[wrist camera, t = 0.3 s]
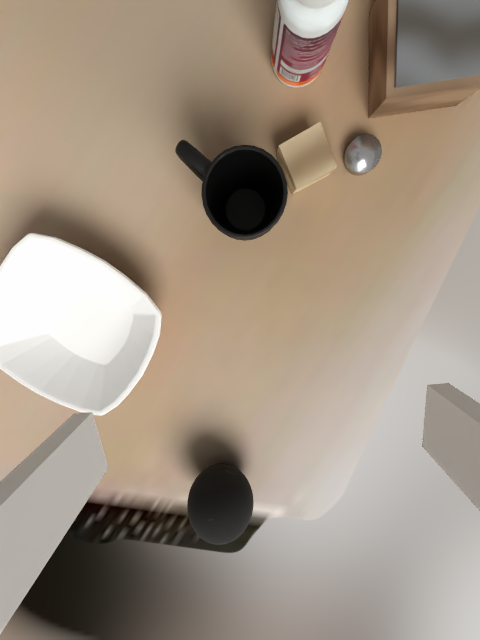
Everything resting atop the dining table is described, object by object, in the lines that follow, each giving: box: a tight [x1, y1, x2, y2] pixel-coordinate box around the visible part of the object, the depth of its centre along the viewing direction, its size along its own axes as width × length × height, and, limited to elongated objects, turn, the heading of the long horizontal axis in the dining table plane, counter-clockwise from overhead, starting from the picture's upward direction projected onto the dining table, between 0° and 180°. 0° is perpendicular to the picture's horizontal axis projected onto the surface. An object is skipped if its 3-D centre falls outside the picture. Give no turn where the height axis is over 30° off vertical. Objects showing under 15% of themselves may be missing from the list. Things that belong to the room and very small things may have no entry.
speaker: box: [188, 464, 253, 545], centre depth 39 cm, size 10×10×10 cm
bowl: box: [0, 233, 162, 415], centre depth 35 cm, size 22×22×5 cm
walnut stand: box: [369, 0, 480, 118], centre depth 27 cm, size 10×10×4 cm
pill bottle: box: [271, 0, 349, 88], centre depth 24 cm, size 6×6×11 cm
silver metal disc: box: [343, 134, 382, 175], centre depth 31 cm, size 4×4×1 cm
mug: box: [175, 140, 288, 240], centre depth 29 cm, size 8×12×10 cm
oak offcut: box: [276, 122, 337, 194], centre depth 30 cm, size 5×5×3 cm
